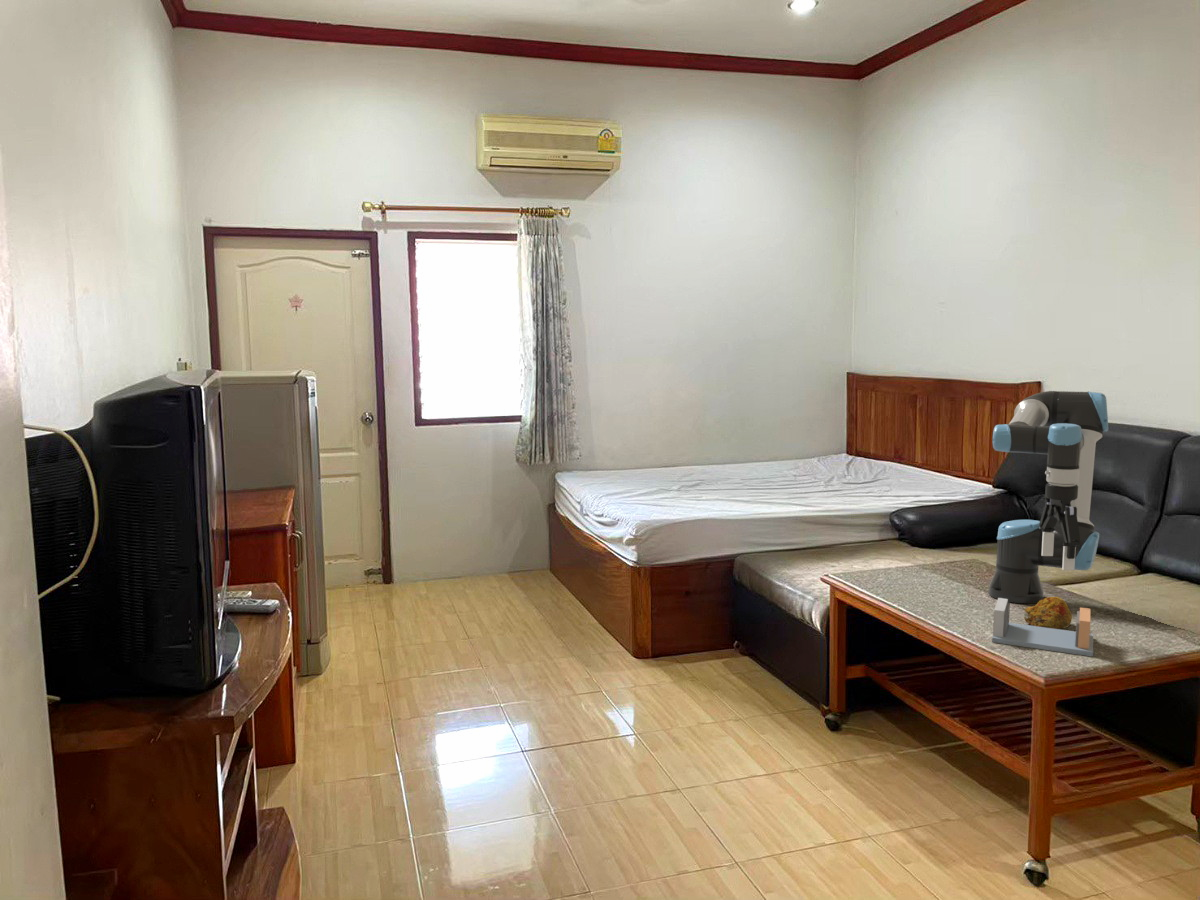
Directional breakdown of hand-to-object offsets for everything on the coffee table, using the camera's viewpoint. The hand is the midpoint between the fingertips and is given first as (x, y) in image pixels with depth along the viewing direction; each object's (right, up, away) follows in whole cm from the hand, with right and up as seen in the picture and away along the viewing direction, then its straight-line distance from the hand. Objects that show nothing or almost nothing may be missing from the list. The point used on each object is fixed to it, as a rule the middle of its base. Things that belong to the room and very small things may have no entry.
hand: (1057, 562), depth 236 cm
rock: (+3, -19, +10) cm, 21 cm away
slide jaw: (+3, -19, -6) cm, 20 cm away
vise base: (-5, -20, -2) cm, 21 cm away
